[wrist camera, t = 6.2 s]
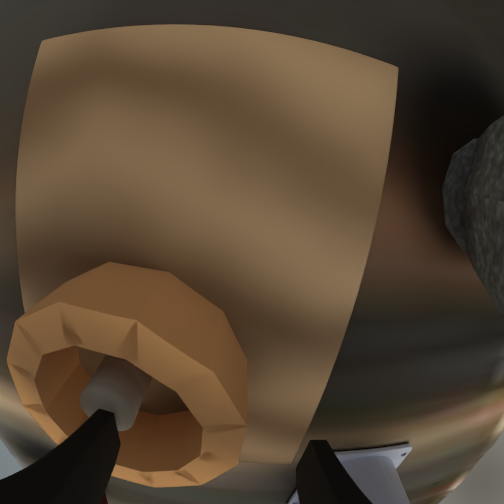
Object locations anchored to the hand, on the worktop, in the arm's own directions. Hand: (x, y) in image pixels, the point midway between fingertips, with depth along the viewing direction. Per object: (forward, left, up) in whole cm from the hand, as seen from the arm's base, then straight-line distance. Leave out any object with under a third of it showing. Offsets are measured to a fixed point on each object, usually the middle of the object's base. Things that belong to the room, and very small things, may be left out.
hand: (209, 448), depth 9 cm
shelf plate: (+4, +3, -5) cm, 7 cm away
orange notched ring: (0, +4, -4) cm, 6 cm away
